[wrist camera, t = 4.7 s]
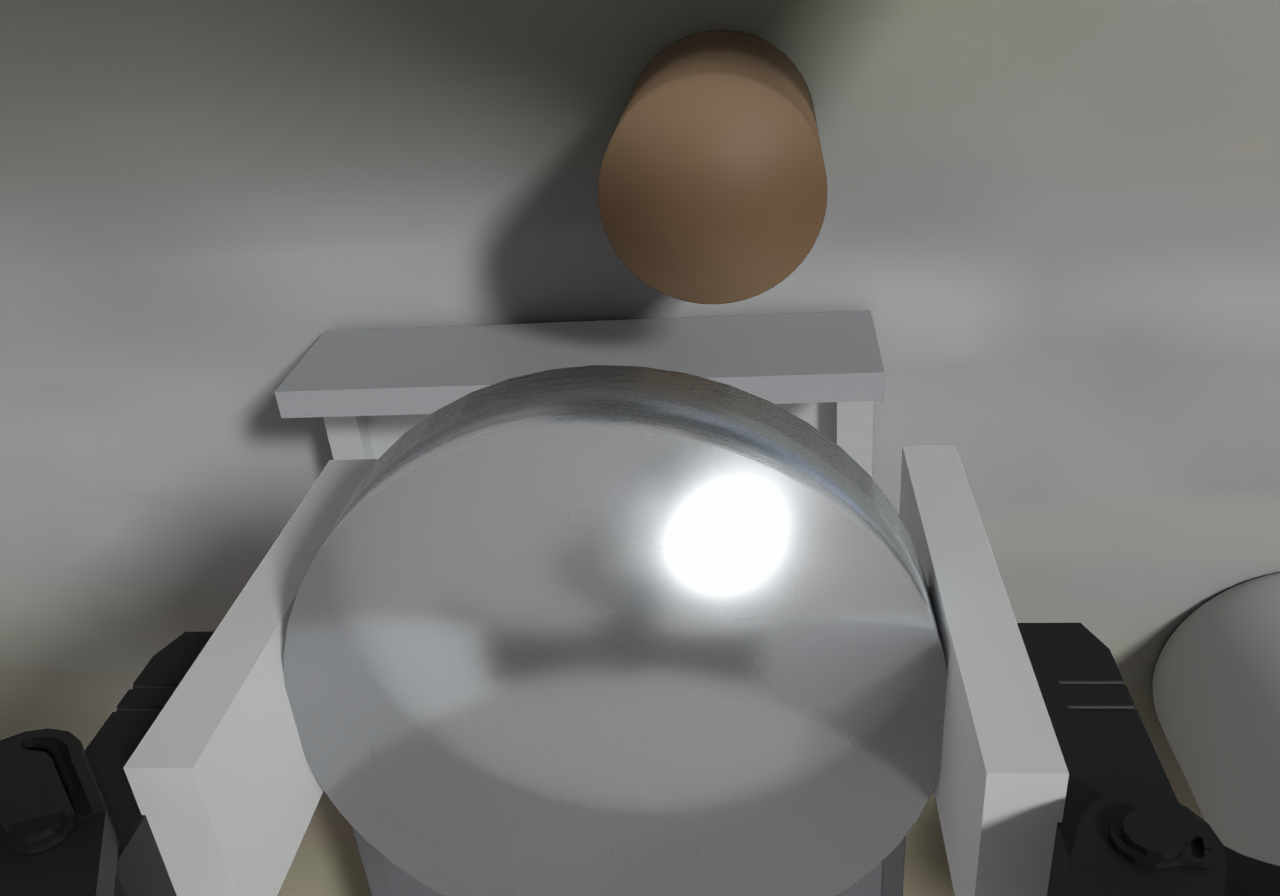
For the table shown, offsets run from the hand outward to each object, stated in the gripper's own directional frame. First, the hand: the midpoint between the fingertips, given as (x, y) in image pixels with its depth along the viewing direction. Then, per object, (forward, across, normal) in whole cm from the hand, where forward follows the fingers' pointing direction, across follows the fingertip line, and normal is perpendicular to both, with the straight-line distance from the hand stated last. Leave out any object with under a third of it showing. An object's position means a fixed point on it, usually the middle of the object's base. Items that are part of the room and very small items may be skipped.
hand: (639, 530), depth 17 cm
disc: (-3, 0, 0) cm, 3 cm away
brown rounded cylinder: (+16, +1, +3) cm, 16 cm away
